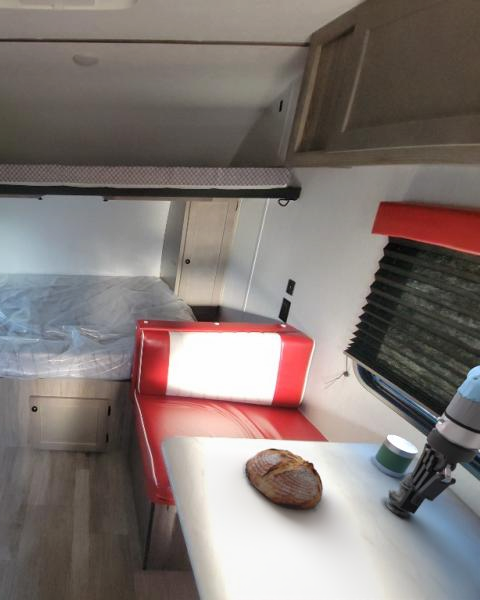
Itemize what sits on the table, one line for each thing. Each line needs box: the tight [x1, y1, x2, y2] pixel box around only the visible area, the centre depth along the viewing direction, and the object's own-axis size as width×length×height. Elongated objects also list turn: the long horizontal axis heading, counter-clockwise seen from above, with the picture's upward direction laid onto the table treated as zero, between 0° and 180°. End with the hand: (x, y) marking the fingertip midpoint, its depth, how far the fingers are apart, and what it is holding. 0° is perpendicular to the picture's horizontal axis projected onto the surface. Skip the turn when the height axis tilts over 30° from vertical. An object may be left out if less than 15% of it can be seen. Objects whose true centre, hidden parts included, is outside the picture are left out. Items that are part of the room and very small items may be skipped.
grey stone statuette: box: [383, 472, 413, 519], centre depth 87 cm, size 6×6×12 cm
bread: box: [244, 447, 324, 510], centre depth 90 cm, size 16×20×10 cm
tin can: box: [372, 434, 419, 478], centre depth 100 cm, size 7×7×10 cm
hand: (406, 508), depth 85 cm, fingers closed
